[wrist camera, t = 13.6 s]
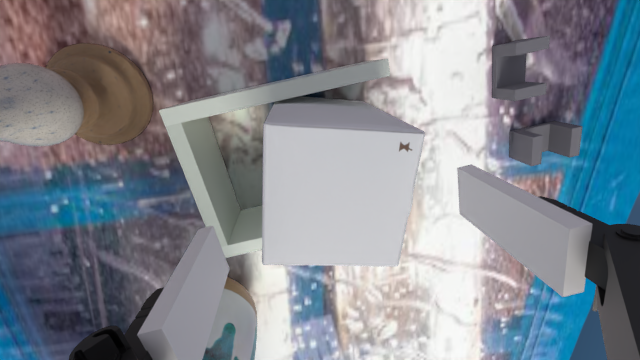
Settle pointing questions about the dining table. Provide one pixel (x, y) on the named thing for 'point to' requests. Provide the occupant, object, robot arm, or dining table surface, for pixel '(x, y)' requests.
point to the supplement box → (336, 183)
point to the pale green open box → (206, 160)
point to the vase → (233, 326)
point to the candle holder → (74, 98)
